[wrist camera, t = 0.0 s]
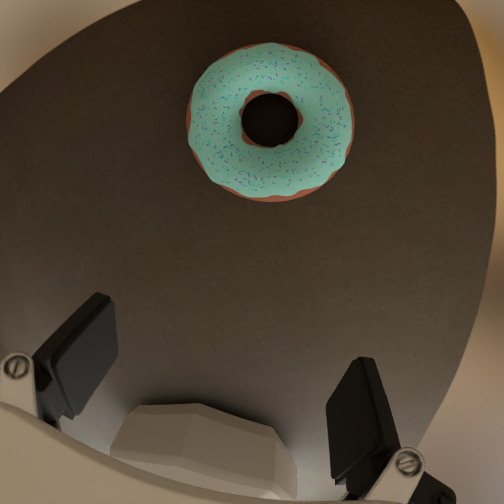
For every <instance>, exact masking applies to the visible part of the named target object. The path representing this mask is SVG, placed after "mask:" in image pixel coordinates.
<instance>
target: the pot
mask: <svg viewBox="0 0 504 504" xmlns="http://www.w3.org/2000/svg"><path fill="white" fill-rule="evenodd" d="M110 457H112V458H114V459H116V460H119V461H121V462H123V463H126V464H128V465H131V466H133V467H136V468H139V469H141V470H144V471H147V472H150V473H152V474H155V475H158V476H161V477H165V478H168V479H171V480H174V481H178V482H181V483H185V484H189V485H193V486H197V487H201V488H205V489H209V490H214V491H219V492H224V493H230V494H236V495H242V496H249V497H256V498H265V499H276V500H290V501H297V467H296V464H295V462H294V460H293V458H292V456H291V454H290V453H289V451H288V450H287V448H286V447H285V445H284V444H283V442H282V441H281V439H280V438H279V436H278V435H277V433H276V432H275V430H274V429H273V428H272V427H270V426H266V425H262V424H259V423H256V422H252V421H249V420H246V419H243V418H240V417H237V416H234V415H231V414H228V413H225V412H222V411H219V410H216V409H214V408H211V407H208V406H206V405H203V404H200V403H192V404H173V405H139V406H138V407H136V408H135V409H134V410H133V411H131V412H130V413H129V414H128V415H127V417H126V419H125V421H124V423H123V425H122V427H121V428H120V430H119V432H118V434H117V436H116V438H115V440H114V441H113V443H112V445H111V447H110Z"/></svg>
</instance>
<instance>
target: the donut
mask: <svg viewBox="0 0 504 504" xmlns="http://www.w3.org/2000/svg"><path fill="white" fill-rule="evenodd" d="M267 93H273V94H278V95H281V96H283V97H285V98H287V99H288V100H289V101H290V102H291V103H292V104H293V105H294V107H295V108H296V110H297V113H298V119H299V122H298V128H297V131H296V133H295V134H294V136H293V137H292V138H291V139H290V140H289V141H288V142H286V143H284V144H283V145H278V146H276V147H264V146H261V145H258V144H256V143H254V142H253V141H252V140H250V139H249V138H248V136H247V135H246V134H245V132H244V130H243V127H242V121H241V120H242V113H243V110H244V108H245V106H246V105H247V104H248V102H249V101H250V100H252V99H253V98H255V97H256V96H258V95H262V94H267ZM354 124H355V120H354V112H353V105H352V103H351V100H350V97H349V94H348V91H347V89H346V88H345V86H344V84H343V83H342V81H341V79H340V78H339V76H338V75H337V74H336V73H335V72H334V71H333V70H332V69H331V68H330V67H329V65H327V64H326V63H325V62H323V61H322V60H321V59H319V58H318V57H317V56H315V55H313V54H311V53H309V52H307V51H305V50H303V49H301V48H298V47H294V46H290V45H286V44H279V43H260V44H252V45H248V46H245V47H242V48H238V49H235V50H233V51H231V52H230V53H228V54H226V55H224V56H222V57H221V58H219V59H218V60H217V61H216V62H214V63H213V64H211V65H210V66H209V67H208V69H207V70H206V71H205V72H204V73H203V75H202V76H201V77H200V79H199V80H198V81H197V83H196V84H195V86H194V89H193V91H192V93H191V96H190V100H189V103H188V107H187V115H186V129H187V136H188V143H189V145H190V147H191V149H192V152H193V155H194V156H195V158H196V160H197V161H198V163H199V165H200V166H201V168H202V169H203V170H204V171H205V172H206V173H207V175H208V176H209V178H210V179H211V180H212V181H213V182H215V183H217V184H219V185H220V186H221V187H223V188H224V189H226V190H228V191H230V192H232V193H234V194H236V195H238V196H240V197H244V198H248V199H251V200H255V201H265V202H278V201H288V200H292V199H295V198H299V197H302V196H305V195H307V194H309V193H311V192H313V191H315V190H317V189H318V188H320V187H321V186H322V185H323V184H325V183H326V182H327V181H329V180H330V179H331V178H332V177H333V176H334V174H335V173H336V172H337V171H338V170H339V169H340V168H341V167H342V165H343V164H344V162H345V159H346V157H347V155H348V153H349V150H350V147H351V144H352V141H353V136H354Z"/></svg>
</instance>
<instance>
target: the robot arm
mask: <svg viewBox="0 0 504 504" xmlns="http://www.w3.org/2000/svg"><path fill="white" fill-rule="evenodd" d="M117 356H118V342H117V333H116V323H115V311H114V302H113V301H111V298H110V297H109V296H107V295H104V294H102V293H99V292H96V293H94V294H93V295H92V296H91V297H90V298H89V299H88V300H87V301H86V302H85V303H84V304H83V305H82V306H80V307H79V308H78V309H77V310H76V311H75V312H74V313H73V314H72V315H71V316H70V317H69V318H68V319H67V320H66V321H65V322H64V323H63V324H62V325H61V326H60V327H59V328H58V329H57V330H56V331H55V332H54V333H53V334H52V335H51V336H50V337H49V338H48V339H47V340H46V341H45V342H44V344H43V345H42V346H41V347H40V348H39V349H38V350H37V351H36V352H35V353H34V355H33V356H32V357H31V356H29V355H28V354H27V353H24V352H19V351H17V352H12V353H10V354H8V355H7V356H6V357H5V358H4V359H3V361H2V362H1V366H0V504H456V496H455V493H454V491H453V490H452V489H450V488H449V487H448V486H446V485H445V484H443V483H441V482H440V481H438V480H437V479H435V478H434V477H432V476H431V475H429V474H427V473H426V472H425V471H424V468H425V461H424V458H423V456H422V455H421V453H420V452H419V451H417V450H416V449H414V448H412V447H402V448H401V446H400V442H399V438H398V435H397V431H396V427H395V423H394V420H393V416H392V413H391V409H390V406H389V403H388V399H387V396H386V394H385V391H384V388H383V385H382V382H381V378H380V375H379V372H378V369H377V366H376V363H375V361H374V359H373V358H368V357H358V358H357V359H356V360H353V361H352V362H351V364H350V366H349V368H348V369H347V371H346V373H345V374H344V376H343V378H342V379H341V381H340V382H339V384H338V386H337V387H336V389H335V390H334V392H333V394H332V395H331V397H330V398H329V400H328V401H327V404H326V417H327V428H328V439H329V452H330V467H331V477H332V479H335V485H346V488H347V492H346V493H345V494H344V496H343V497H342V498H341V499H340V500H339V501H290V500H276V499H265V498H256V497H249V496H242V495H236V494H230V493H224V492H219V491H214V490H209V489H205V488H201V487H197V486H193V485H189V484H185V483H181V482H178V481H174V480H171V479H168V478H165V477H161V476H158V475H155V474H152V473H150V472H147V471H144V470H141V469H139V468H136V467H133V466H131V465H128V464H126V463H123V462H121V461H119V460H116V459H114V458H112V457H109V456H107V455H105V454H103V453H101V452H99V451H97V450H95V449H93V448H91V447H89V446H87V445H85V444H83V443H81V442H79V441H77V440H75V439H73V438H71V437H70V436H68V435H66V434H64V433H62V432H61V427H60V422H59V419H60V417H61V416H62V415H64V416H66V417H67V418H69V419H71V420H73V418H74V417H75V415H77V416H78V415H79V414H80V413H81V412H82V410H83V409H84V407H85V406H86V404H87V402H88V401H89V399H90V398H91V396H92V395H93V393H94V391H95V390H96V388H97V387H98V385H99V384H100V382H101V381H102V379H103V378H104V376H105V375H106V373H107V372H108V370H109V369H110V367H111V366H112V364H113V363H114V361H115V360H116V358H117Z"/></svg>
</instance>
